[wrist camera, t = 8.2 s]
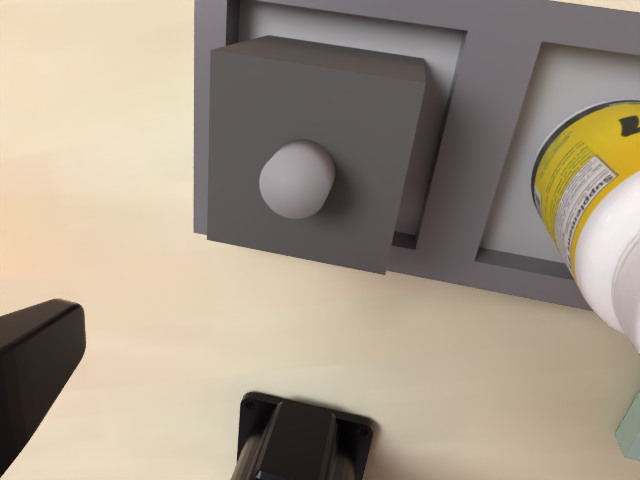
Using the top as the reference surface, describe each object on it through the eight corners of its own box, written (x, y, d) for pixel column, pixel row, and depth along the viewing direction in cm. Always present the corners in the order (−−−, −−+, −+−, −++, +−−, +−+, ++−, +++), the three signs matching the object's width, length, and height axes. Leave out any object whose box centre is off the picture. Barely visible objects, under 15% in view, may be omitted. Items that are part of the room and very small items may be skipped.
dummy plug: (393, 205, 18) (382, 298, 12) (258, 180, 18) (189, 260, 13) (423, 58, 15) (426, 93, 10) (268, 34, 16) (188, 55, 10)
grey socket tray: (678, 298, 18) (709, 333, 16) (215, 209, 20) (193, 232, 18) (821, 38, 14) (885, 45, 12) (222, -43, 16) (194, -48, 14)
